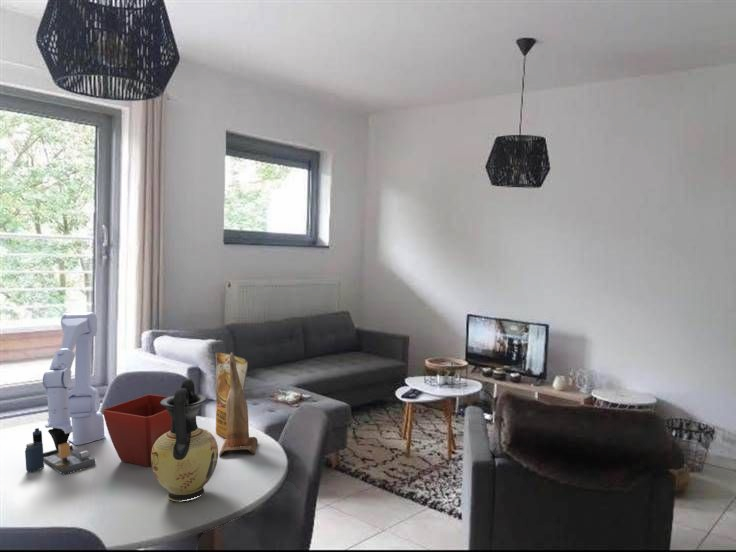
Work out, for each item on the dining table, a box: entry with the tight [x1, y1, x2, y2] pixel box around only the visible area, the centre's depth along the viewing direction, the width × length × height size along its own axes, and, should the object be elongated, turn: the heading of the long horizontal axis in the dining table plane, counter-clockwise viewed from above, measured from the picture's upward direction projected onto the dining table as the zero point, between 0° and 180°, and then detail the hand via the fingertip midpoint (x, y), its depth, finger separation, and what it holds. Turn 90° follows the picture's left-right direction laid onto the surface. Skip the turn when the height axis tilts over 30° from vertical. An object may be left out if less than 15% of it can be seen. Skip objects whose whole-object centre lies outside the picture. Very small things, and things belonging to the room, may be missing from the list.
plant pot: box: [102, 394, 172, 468], centre depth 177 cm, size 19×19×17 cm
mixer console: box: [43, 444, 96, 475], centre depth 175 cm, size 9×18×4 cm, turn 48°
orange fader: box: [58, 441, 71, 461], centre depth 174 cm, size 3×2×5 cm
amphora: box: [151, 378, 219, 502], centre depth 149 cm, size 18×17×30 cm
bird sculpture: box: [218, 352, 259, 458], centre depth 181 cm, size 11×12×32 cm
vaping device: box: [24, 428, 45, 473], centre depth 170 cm, size 3×5×12 cm, turn 161°
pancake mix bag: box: [214, 352, 249, 440], centre depth 195 cm, size 7×19×28 cm, turn 41°
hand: (61, 451), depth 175 cm, fingers closed
